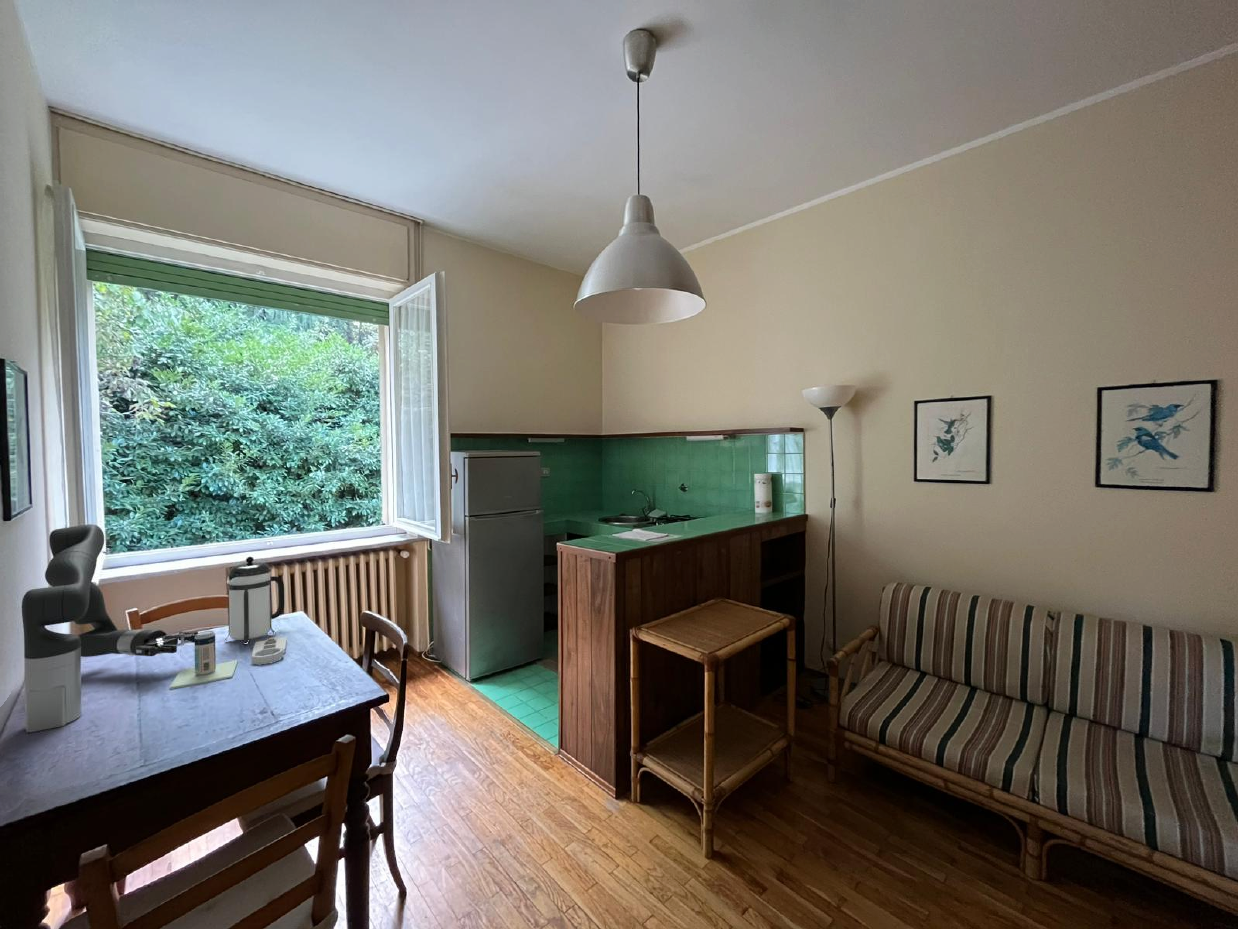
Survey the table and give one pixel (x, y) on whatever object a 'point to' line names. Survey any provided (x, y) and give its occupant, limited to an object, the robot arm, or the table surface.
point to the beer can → (205, 653)
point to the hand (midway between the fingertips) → (189, 643)
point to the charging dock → (268, 650)
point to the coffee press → (252, 600)
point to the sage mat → (190, 678)
